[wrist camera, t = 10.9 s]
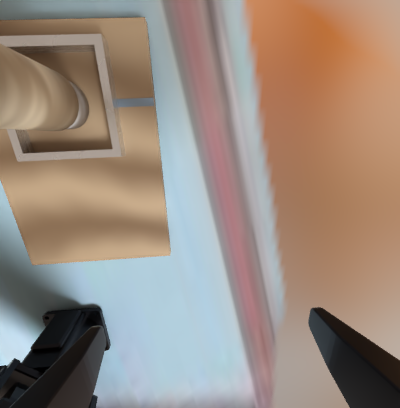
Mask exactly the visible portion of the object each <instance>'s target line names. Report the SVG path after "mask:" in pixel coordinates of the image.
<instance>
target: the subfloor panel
mask: <svg viewBox="0 0 400 408" xmlns="http://www.w3.org/2000/svg"><path fill="white" fill-rule="evenodd" d="M68 34H102V35H103V37H104V38H105V39H106V40H107V41H108V46H109V53H110V59H111V65H112V71H113V78H114V84H115V90H116V96H117V104H118V109H119V115H120V121H121V128H122V134H123V140H124V146H125V153H126V155H125V156H122V157H102V158H82V159H61V160H41V161H21V162H18V161H17V159H16V156H15V153H14V150H13V147H12V144H11V141H10V138H9V135H8V132H7V129H0V180H1V183H2V185H3V188H4V191H5V193H6V196H7V199H8V201H9V204H10V207H11V209H12V212H13V215H14V217H15V220H16V223H17V225H18V228H19V231H20V233H21V236H22V239H23V241H24V244H25V247H26V249H27V252H28V255H29V257H30V260H31V263H32V265H42V264H56V263H70V262H84V261H98V260H112V259H126V258H140V257H154V256H169V255H170V253H171V249H170V239H169V230H168V220H167V211H166V201H165V192H164V182H163V172H162V163H161V153H160V144H159V134H158V125H157V115H156V105H155V96H154V86H153V77H152V67H151V58H150V48H149V39H148V29H147V22H146V19H145V17H140V18H88V19H36V20H0V36H23V35H68ZM22 55H24V56H26V57H28V58H30V59H32V60H34V61H36V62H38V63H40V64H42V65H44V66H46V67H48V68H50V69H52V70H54V71H56V72H58V73H59V74H61V75H62V76H64V77H65V78H66V79H67V80H68V81H70V82H72V83H74V84H75V85H77V86H78V87H79V88H80V89H81V90H82V91H83V93H84V94H85V96H86V98H87V100H88V103H89V116H88V119H87V121H86V122H85V123H84V124H83V125H82V126H81V127H79V128H77V129H65V130H62V131H39V130H27V131H28V134H29V138H30V141H31V144H32V148H33V151H34V152H54V151H76V150H97V149H113V148H112V142H111V137H110V131H109V125H108V120H107V114H106V109H105V103H104V98H103V92H102V86H101V81H100V75H99V70H98V64H97V59H96V53H95V52H71V53H33V54H22Z"/></svg>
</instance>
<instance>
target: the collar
mask: <svg viewBox="0 0 400 408" xmlns="http://www.w3.org/2000/svg"><path fill="white" fill-rule="evenodd" d="M0 44H2V45H4V46H6V47H8V48H10V49H12V50H14V51H16V52H18V53H20V54H33V53H71V52H95V53H96V59H97V64H98V70H99V75H100V81H101V86H102V92H103V98H104V103H105V109H106V114H107V120H108V125H109V131H110V137H111V142H112V148H113V149H97V150H76V151H54V152H34V151H33V148H32V144H31V141H30V138H29V134H28V131H27V130H18V129H7V132H8V135H9V138H10V141H11V144H12V147H13V150H14V153H15V156H16V159H17V161H18V162H21V161H41V160H61V159H82V158H102V157H122V156H125V155H126V153H125V146H124V140H123V134H122V128H121V121H120V115H119V109H118V104H117V96H116V90H115V84H114V78H113V71H112V65H111V59H110V53H109V46H108V41H107V40H106V39H105V38H104V37H103V35H102V34H68V35H23V36H0Z"/></svg>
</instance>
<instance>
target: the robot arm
mask: <svg viewBox="0 0 400 408" xmlns="http://www.w3.org/2000/svg"><path fill="white" fill-rule="evenodd" d="M96 312H97V313H96ZM42 318H43V321H44V323H45V326H46V328H45V329H44V330H43V332H42V333H41V334H40V336H39V337H38V338H37V340H36V341H35V342H34V344H33V345H32V346H31V351H30V352H29V353H28V355H27V356H26V357H25V359H24V360H23V362H22V363H20V361H19V360H17V359H15V358H14V359H13V360H12V362H11V363H10V364H9V365H8V366H6V365H4V366H0V408H96V403H97V396H95V395H93V393H94V389H95V386H96V382H97V378H98V374H99V370H100V366H101V363H102V359H103V355H104V351H106V350H109V348H110V345H111V344H110V340H109V336H108V333H107V329H106V325H105V321H104V318H103V314H102V310H101V309H100V308H88V309H76V310H64V311H51V312H46V313H45V314H44V315H43V317H42ZM309 327H310V330H311V332H312V334H313V336H314V339H315V341H316V343H317V345H318V347H319V350H320V352H321V354H322V356H323V359H324V361H325V363H326V365H327V367H328V369H329V371H330V373H331V375H332V376H333V378H334V380H335V381H336V384H337V385H338V387H339V389H340V391H341V393H342V394H343V396H344V398H345V399H346V402H347V403H348V405H349V407H350V408H400V360H398V359H397V358H395V357H394V356H392V355H391V354H389V353H388V352H386V351H385V350H383V349H382V348H380V347H379V346H378V345H376V344H375V343H373V342H371V341H370V340H369V339H367V338H366V337H364V336H363V335H361V334H360V333H358V332H357V331H355V330H354V329H352V328H351V327H349V326H348V325H347V324H345V323H344V322H342V321H341V320H339V319H338V318H336V317H335V316H333V315H331V314H330V313H329V312H327V311H326V310H324V309H323V308H320V307H317V308H312V309H311V311H310V316H309Z"/></svg>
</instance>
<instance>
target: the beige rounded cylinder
mask: <svg viewBox="0 0 400 408" xmlns="http://www.w3.org/2000/svg"><path fill="white" fill-rule="evenodd" d="M88 116H89V103H88V100H87V98H86V96H85V94H84V93H83V91H82V90H81V89H80V88H79V87H78V86H77V85H75V84H74V83H72V82H70V81H68V80H67V79H66V78H65V77H64V76H62V75H61V74H59V73H58V72H56V71H54V70H52V69H50V68H48V67H46V66H44V65H42V64H40V63H38V62H36V61H34V60H32V59H30V58H28V57H26V56H24V55H22V54H20V53H18V52H16V51H14V50H12V49H10V48H8V47H6V46H4V45H2V44H0V129H18V130H39V131H62V130H65V129H77V128H79V127H81V126H82V125H83V124H84V123H85V122H86V121H87V119H88Z"/></svg>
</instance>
